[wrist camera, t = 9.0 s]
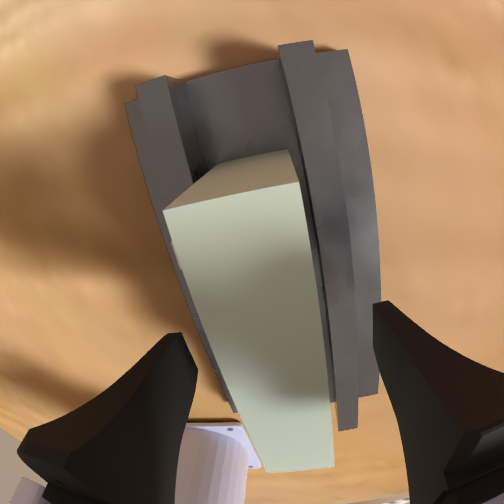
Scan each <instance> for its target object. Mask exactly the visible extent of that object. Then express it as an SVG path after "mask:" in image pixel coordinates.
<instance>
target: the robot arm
mask: <svg viewBox="0 0 504 504" xmlns="http://www.w3.org/2000/svg"><path fill="white" fill-rule="evenodd" d="M372 306H373V349H374V353H375V357H376V361H377V365H378V369H379V372H380V374H381V377H382V380H383V382H384V385H385V388H386V390H387V393H388V396H389V398H390V401H391V404H392V407H393V410H394V412H395V415H396V419H397V422H398V426H399V430H400V435H401V440H402V445H403V451H404V457H405V463H406V470H407V477H408V486H409V495H410V504H504V373H502V372H499V371H496V370H494V369H491V368H488V367H486V366H484V365H482V364H479V363H477V362H475V361H473V360H471V359H469V358H467V357H465V356H463V355H461V354H459V353H458V352H456V351H454V350H452V349H451V348H449V347H447V346H446V345H444V344H443V343H441V342H440V341H438V340H437V339H435V338H434V337H433V336H431V335H430V334H429V333H427V332H426V331H425V330H423V329H422V328H421V327H420V326H418V325H417V324H416V323H414V322H413V321H412V320H411V319H410V318H408V317H407V316H406V315H405V314H404V313H403V312H401V311H400V310H399V309H398V308H397V307H396V306H394V305H393V304H392V303H391V302H390V301H383V302H379V303H374V304H372ZM197 374H198V368H197V366H196V364H195V362H194V360H193V357H192V355H191V353H190V351H189V349H188V346H187V344H186V342H185V340H184V337H183V335H182V333H181V332H179V333H168V334H166V335H165V336H164V337H163V338H162V339H161V340H160V341H158V342H157V343H156V344H155V345H154V346H153V347H152V348H151V349H150V350H149V351H148V352H147V353H146V354H145V355H144V356H143V357H142V358H141V359H140V360H139V361H138V362H137V363H136V364H135V365H134V366H133V367H132V368H131V369H129V370H128V371H127V372H126V373H125V374H124V375H123V376H122V377H121V378H119V379H118V380H117V381H116V382H115V383H114V384H112V385H111V386H110V387H109V388H107V389H106V390H105V391H103V392H102V393H101V394H99V395H98V396H96V397H95V398H94V399H92V400H90V401H89V402H87V403H85V404H84V405H82V406H81V407H79V408H77V409H76V410H74V411H72V412H70V413H68V414H66V415H64V416H62V417H60V418H58V419H56V420H53V421H51V422H48V423H46V424H43V425H40V426H37V427H35V428H31V429H29V431H28V432H27V434H26V436H25V437H24V439H23V441H22V442H21V444H20V446H19V448H18V449H17V453H18V455H19V457H20V458H21V459H22V461H23V462H24V463H25V464H26V465H27V466H29V467H30V468H31V469H32V470H33V471H34V472H35V473H37V474H38V475H39V476H40V477H42V478H43V479H44V480H45V481H46V482H48V484H47V486H46V488H45V487H43V486H42V485H40V484H38V483H36V482H34V481H32V480H30V479H28V478H26V477H22V478H21V480H20V482H19V484H18V486H17V488H16V490H15V492H14V494H13V496H12V498H11V500H10V502H9V504H244V498H245V489H246V480H247V471H248V469H257V468H261V465H262V463H261V461H260V459H259V457H258V455H257V453H256V451H255V449H254V447H253V445H252V443H251V441H250V439H249V437H248V435H247V433H246V431H245V428H244V426H243V425H242V424H241V423H239V422H224V423H187V419H188V416H189V412H190V409H191V405H192V402H193V398H194V394H195V390H196V383H197Z"/></svg>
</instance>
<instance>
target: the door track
mask: <svg viewBox="0 0 504 504" xmlns="http://www.w3.org/2000/svg"><path fill="white" fill-rule="evenodd" d="M135 87H136V91H137V95H138V99H135V100H133V101H130V102H128V103H125V108H126V112H127V116H128V120H129V124H130V128H131V132H132V136H133V140H134V143H135V147H136V151H137V154H138V158H139V161H140V165H141V168H142V172H143V175H144V179H145V182H146V185H147V189H148V192H149V195H150V198H151V202H152V205H153V208H154V211H155V214H156V217H157V220H158V223H159V226H160V229H161V232H162V235H163V238H164V241H165V244H166V247H167V250H168V253H169V256H170V259H171V261H172V264H173V267H174V270H175V273H176V275H177V278H178V281H179V284H180V286H181V289H182V292H183V294H184V297H185V299H186V302H187V305H188V307H189V310H190V312H191V315H192V318H193V320H194V323H195V325H196V328H197V330H198V333H199V335H200V337H201V340H202V342H203V345H204V347H205V349H206V352H207V354H208V357H209V359H210V361H211V364H212V366H213V368H214V371H215V373H216V375H217V377H218V380H219V382H220V384H221V386H222V389H223V391H224V393H225V395H226V397H227V400H228V402H229V404H230V406H231V408H232V410H233V413H238V410H237V408H236V406H235V404H234V401H233V399H232V397H231V394H230V392H229V390H228V387H227V385H226V383H225V380H224V378H223V376H222V373H221V371H220V368H219V366H218V364H217V361H216V359H215V356H214V354H213V351H212V349H211V346H210V344H209V341H208V339H207V336H206V334H205V331H204V328H203V326H202V323H201V321H200V318H199V315H198V313H197V310H196V307H195V305H194V302H193V299H192V296H191V294H190V291H189V288H188V285H187V283H186V280H185V277H184V274H183V271H182V269H180V268H179V265H178V262H177V259H176V256H175V253H174V250H173V247H172V244H171V242H172V239H171V236H170V233H169V230H168V226H167V223H166V220H165V217H164V214H163V210H164V209H165V208H166V207H167V206H168V205H170V204H171V203H172V202H173V201H174V200H175V199H176V198H178V197H179V196H180V195H181V194H182V193H183V192H185V191H186V190H187V189H188V188H189V187H191V186H192V185H193V184H194V183H195V182H197V181H198V180H199V179H200V178H201V177H203V176H204V175H205V174H206V173H207V172H209V171H210V170H211V169H212V168H214V167H215V166H216V165H217V164H219V163H223V162H227V161H231V160H236V159H240V158H245V157H250V156H254V155H259V154H264V153H269V152H274V151H279V150H285V149H288V151H289V154H290V156H291V159H292V162H293V165H294V168H295V171H296V174H297V177H298V180H299V184H300V190H301V195H302V200H303V206H304V212H305V217H306V223H307V229H308V235H309V241H310V247H311V253H312V259H313V266H314V273H315V279H316V286H317V293H318V300H319V308H320V315H321V323H322V331H323V339H324V348H325V357H326V366H327V376H328V386H329V396H330V403H331V402H335V408H336V416H337V423H338V431H343V430H349V429H355V428H357V426H358V398H359V397H364V396H369V395H374V394H378V384H379V369H378V365H377V361H376V357H375V353H374V349H373V306H372V304H374V303H379V302H381V280H380V256H379V240H378V226H377V215H376V204H375V195H374V186H373V178H372V170H371V163H370V156H369V150H368V143H367V137H366V131H365V126H364V120H363V115H362V110H361V105H360V100H359V95H358V90H357V86H356V81H355V77H354V73H353V69H352V65H351V61H350V57H349V53H348V49H345V50H335V51H326V52H318V53H316V51H315V47H314V44H313V40H310V41H303V42H296V43H289V44H283V45H278V59H274V60H268V61H263V62H259V63H254V64H249V65H245V66H241V67H236V68H232V69H228V70H224V71H221V72H217V73H213V74H210V75H206V76H203V77H199V78H196V79H192V80H189V81H186V82H184V81H181V80H178V79H175V78H172V77H169V76H166V75H164V76H162V77H159V78H156V79H153V80H151V81H148V82H145V83H143V84H140V85H138V86H135Z"/></svg>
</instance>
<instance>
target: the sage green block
mask: <svg viewBox="0 0 504 504" xmlns="http://www.w3.org/2000/svg"><path fill="white" fill-rule="evenodd" d="M163 214H164V217H165V220H166V223H167V226H168V230H169V233H170V236H171V239H172V242H171V244H172V247H173V250H174V253H175V256H176V259H177V262H178V265H179V268H180V269H182V271H183V274H184V277H185V280H186V283H187V285H188V288H189V291H190V294H191V296H192V299H193V302H194V305H195V307H196V310H197V313H198V315H199V318H200V321H201V323H202V326H203V328H204V331H205V334H206V336H207V339H208V341H209V344H210V346H211V349H212V351H213V354H214V356H215V359H216V361H217V364H218V366H219V368H220V371H221V373H222V376H223V378H224V380H225V383H226V385H227V387H228V390H229V392H230V394H231V397H232V399H233V401H234V404H235V406H236V408H237V410H238V413H239V415H240V417H241V419H242V421H243V424H244V426H245V428H246V430H247V432H248V434H249V437H250V439H251V441H252V443H253V445H254V447H255V449H256V451H257V453H258V456H259V458H260V460H261V462H262V464H263V466H264V468H265V470H266V472H267V473H277V472H291V471H303V470H312V469H320V468H328V467H335V465H334V448H333V433H332V420H331V408H330V396H329V386H328V376H327V366H326V357H325V348H324V339H323V331H322V323H321V315H320V308H319V300H318V293H317V286H316V279H315V273H314V266H313V259H312V253H311V247H310V241H309V235H308V229H307V223H306V217H305V212H304V206H303V200H302V195H301V190H300V184H299V180H298V177H297V174H296V171H295V168H294V165H293V162H292V159H291V156H290V154H289V151H288V149H285V150H279V151H274V152H269V153H264V154H259V155H254V156H250V157H245V158H240V159H236V160H231V161H227V162H223V163H219V164H217V165H216V166H215V167H214V168H212V169H211V170H210V171H209V172H207V173H206V174H205V175H204V176H203V177H201V178H200V179H199V180H198V181H197V182H195V183H194V184H193V185H192V186H191V187H189V188H188V189H187V190H186V191H185V192H183V193H182V194H181V195H180V196H179V197H178V198H176V199H175V200H174V201H173V202H172V203H171V204H170V205H168V206H167V207H166V208H165V209H164V210H163Z"/></svg>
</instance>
